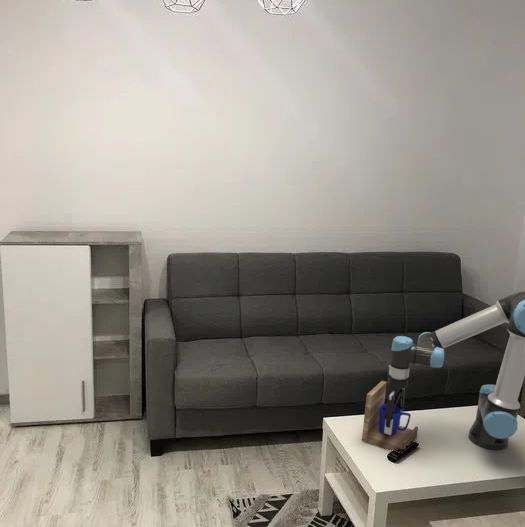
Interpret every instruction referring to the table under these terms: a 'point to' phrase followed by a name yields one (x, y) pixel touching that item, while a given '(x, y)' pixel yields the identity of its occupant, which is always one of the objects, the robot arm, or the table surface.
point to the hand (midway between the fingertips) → (392, 428)
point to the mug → (395, 418)
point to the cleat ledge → (392, 438)
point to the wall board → (373, 408)
